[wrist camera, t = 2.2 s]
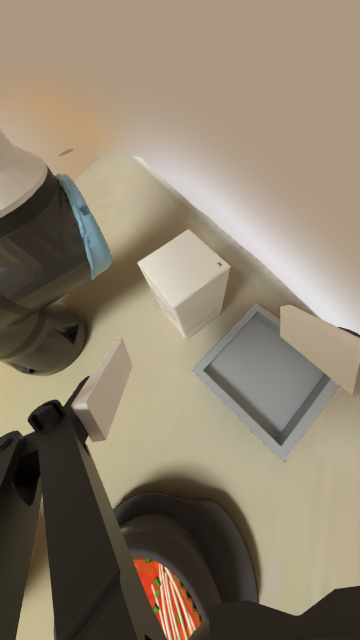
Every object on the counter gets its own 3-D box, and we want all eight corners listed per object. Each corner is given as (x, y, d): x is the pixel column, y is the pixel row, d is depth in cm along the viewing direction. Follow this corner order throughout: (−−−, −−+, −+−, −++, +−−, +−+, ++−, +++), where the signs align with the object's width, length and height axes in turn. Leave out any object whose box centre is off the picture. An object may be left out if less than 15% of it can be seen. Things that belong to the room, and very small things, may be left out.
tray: (193, 372, 32) (192, 370, 28) (251, 310, 35) (256, 302, 32) (273, 453, 26) (283, 462, 23) (334, 371, 29) (350, 369, 26)
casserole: (215, 457, 27) (221, 484, 19) (285, 649, 20) (339, 817, 12) (59, 520, 26) (-1, 575, 19) (73, 743, 19) (-15, 984, 11)
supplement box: (194, 284, 38) (189, 225, 25) (221, 314, 35) (234, 265, 21) (159, 308, 37) (134, 260, 23) (185, 341, 34) (173, 308, 20)
